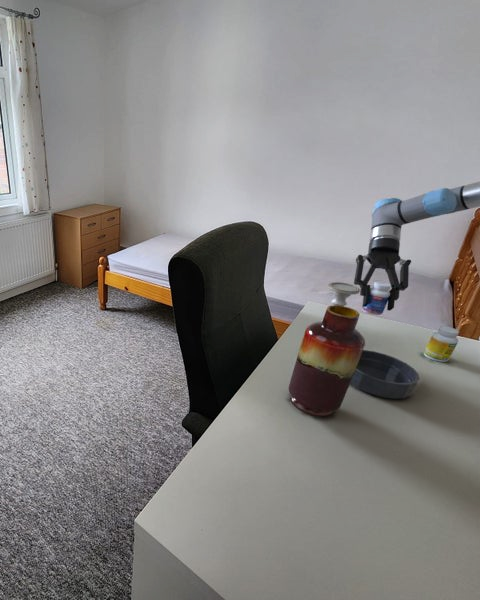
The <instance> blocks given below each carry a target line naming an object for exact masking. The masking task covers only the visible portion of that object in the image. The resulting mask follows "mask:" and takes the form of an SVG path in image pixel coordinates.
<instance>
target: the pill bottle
mask: <svg viewBox="0 0 480 600" xmlns="http://www.w3.org/2000/svg"><path fill="white" fill-rule="evenodd" d="M390 290H391V285H390V283H388V282H385V281H374V283H373V285H372V287H370V295H369V304H368V305H367V306H366V307H363V305H362V306H361V311H362V312H364V313H366V314H369V315H373V316H380V315H383V313H384V312H385V308H386V306H387V305H388V299H389V297H390V292H389V291H390Z"/></svg>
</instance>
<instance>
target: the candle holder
mask: <svg viewBox="0 0 480 600" xmlns="http://www.w3.org/2000/svg"><path fill="white" fill-rule="evenodd" d="M327 288H328V289H329V290H330V291H332V292H333V293H332V294H333V295H334V298H332V299H331V300H330V302H331V303H332V304H331V306H332V305H339V306H347V305H348V303H347V301H346V299H348V298H350V297H351V296H352V295H358V294H360V289H361V288H360V287H358V285H355V284H351V283H349V282H348V283H347V282H342V281H341V282H340V281H333V282H330V283H328V284H327ZM321 321H323V318H321Z"/></svg>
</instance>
